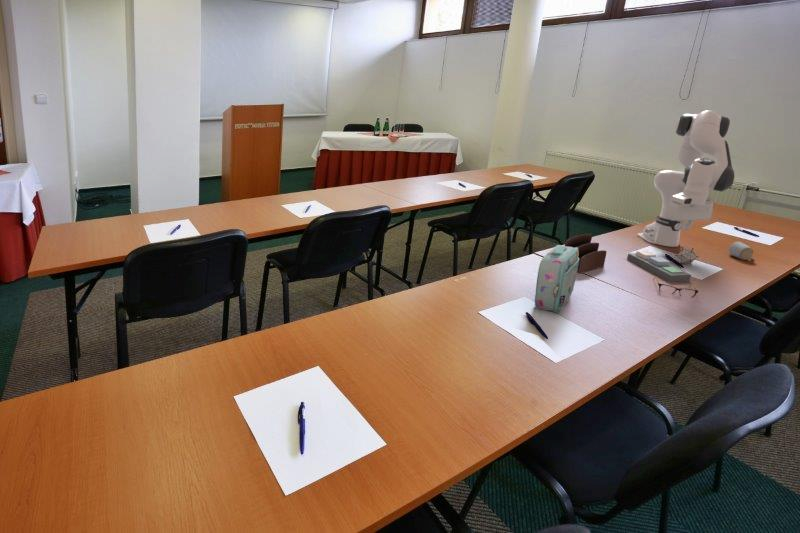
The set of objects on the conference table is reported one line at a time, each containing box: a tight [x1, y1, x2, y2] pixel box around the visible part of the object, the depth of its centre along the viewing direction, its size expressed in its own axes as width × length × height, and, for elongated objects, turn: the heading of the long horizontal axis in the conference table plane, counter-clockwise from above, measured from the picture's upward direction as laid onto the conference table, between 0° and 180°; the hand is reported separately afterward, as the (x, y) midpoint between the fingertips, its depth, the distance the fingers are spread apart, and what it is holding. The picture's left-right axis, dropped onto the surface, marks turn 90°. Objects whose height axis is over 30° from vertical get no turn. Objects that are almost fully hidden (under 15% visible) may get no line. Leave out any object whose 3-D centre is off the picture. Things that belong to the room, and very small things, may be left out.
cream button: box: [635, 250, 657, 259], centre depth 221 cm, size 6×6×3 cm
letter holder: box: [564, 233, 607, 274], centre depth 209 cm, size 10×20×14 cm, turn 126°
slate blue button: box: [648, 256, 671, 266], centre depth 214 cm, size 6×6×3 cm
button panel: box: [626, 252, 692, 283], centre depth 214 cm, size 28×11×3 cm, turn 13°
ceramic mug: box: [728, 241, 755, 261], centre depth 239 cm, size 11×8×8 cm
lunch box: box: [534, 244, 579, 314], centre depth 169 cm, size 27×10×21 cm, turn 150°
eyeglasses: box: [652, 276, 699, 298], centre depth 193 cm, size 14×14×4 cm
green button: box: [662, 267, 684, 273], centre depth 206 cm, size 6×6×3 cm
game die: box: [674, 246, 699, 266], centre depth 224 cm, size 9×8×10 cm
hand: (684, 229), depth 199 cm, fingers closed
